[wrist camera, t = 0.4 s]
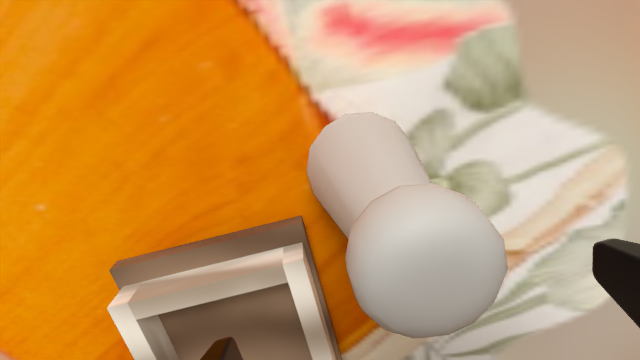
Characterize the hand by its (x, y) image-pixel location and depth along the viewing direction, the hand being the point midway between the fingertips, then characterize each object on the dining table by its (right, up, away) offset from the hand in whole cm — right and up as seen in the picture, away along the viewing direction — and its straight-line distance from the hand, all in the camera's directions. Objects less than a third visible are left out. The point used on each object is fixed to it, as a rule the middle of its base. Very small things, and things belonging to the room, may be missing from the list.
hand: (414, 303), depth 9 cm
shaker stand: (-8, -7, +16) cm, 19 cm away
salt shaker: (0, +5, +13) cm, 13 cm away
